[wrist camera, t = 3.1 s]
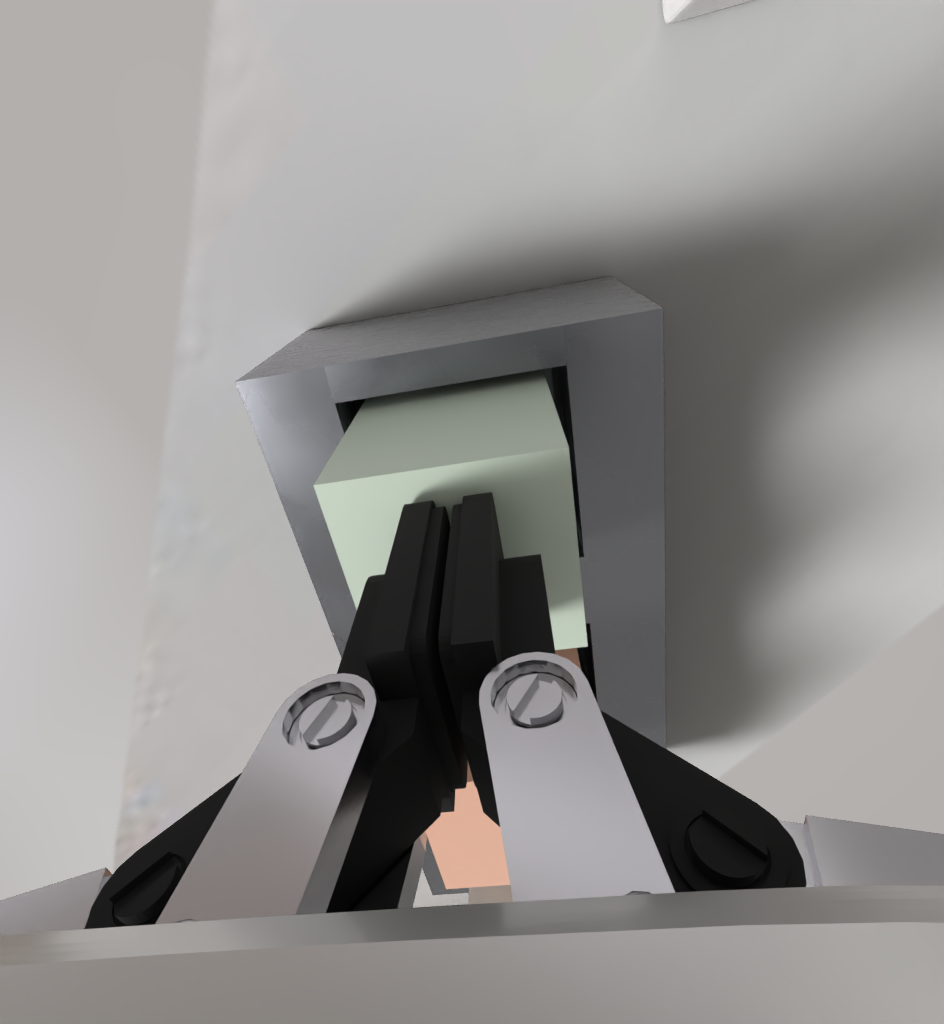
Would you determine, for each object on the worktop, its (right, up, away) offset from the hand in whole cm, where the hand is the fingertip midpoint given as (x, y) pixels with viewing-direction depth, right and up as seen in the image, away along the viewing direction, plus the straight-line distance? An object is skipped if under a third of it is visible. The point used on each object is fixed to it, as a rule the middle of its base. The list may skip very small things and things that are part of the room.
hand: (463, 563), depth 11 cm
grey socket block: (+2, -2, +13) cm, 13 cm away
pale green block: (0, +3, +5) cm, 6 cm away
